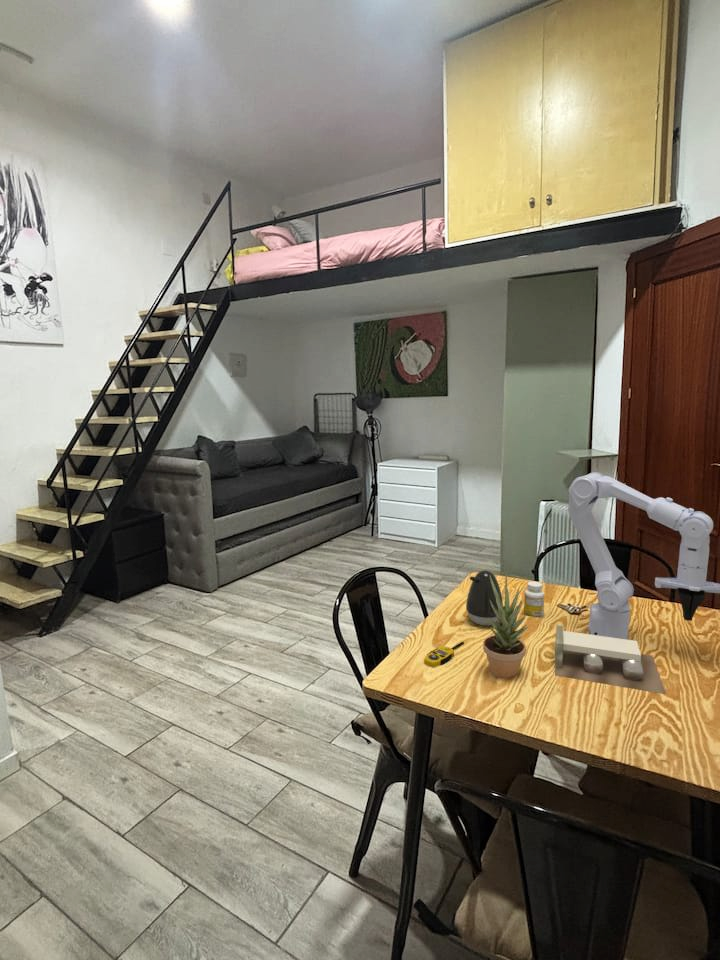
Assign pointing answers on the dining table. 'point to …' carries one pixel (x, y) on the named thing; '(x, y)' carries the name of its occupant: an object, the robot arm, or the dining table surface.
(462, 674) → the dining table surface
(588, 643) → the slab
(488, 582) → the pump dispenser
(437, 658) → the yellow walkie-talkie
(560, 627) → the board
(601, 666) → the roller
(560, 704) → the dining table surface
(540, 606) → the supplement bottle
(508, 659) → the potted plant
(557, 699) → the dining table surface
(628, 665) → the roller
